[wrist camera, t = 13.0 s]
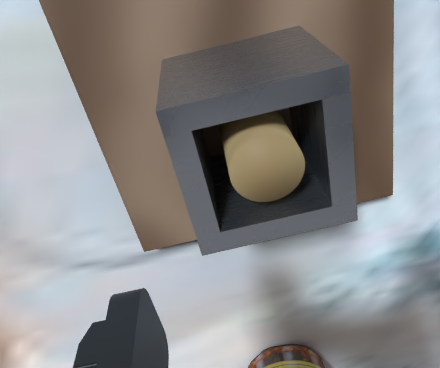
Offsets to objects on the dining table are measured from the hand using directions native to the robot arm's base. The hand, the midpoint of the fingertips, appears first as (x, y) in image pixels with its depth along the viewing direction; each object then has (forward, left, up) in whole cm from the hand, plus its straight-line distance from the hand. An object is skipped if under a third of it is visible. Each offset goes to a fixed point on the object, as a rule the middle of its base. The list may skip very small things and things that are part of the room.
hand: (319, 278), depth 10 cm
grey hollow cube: (0, 0, -11) cm, 11 cm away
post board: (0, 0, -13) cm, 13 cm away
